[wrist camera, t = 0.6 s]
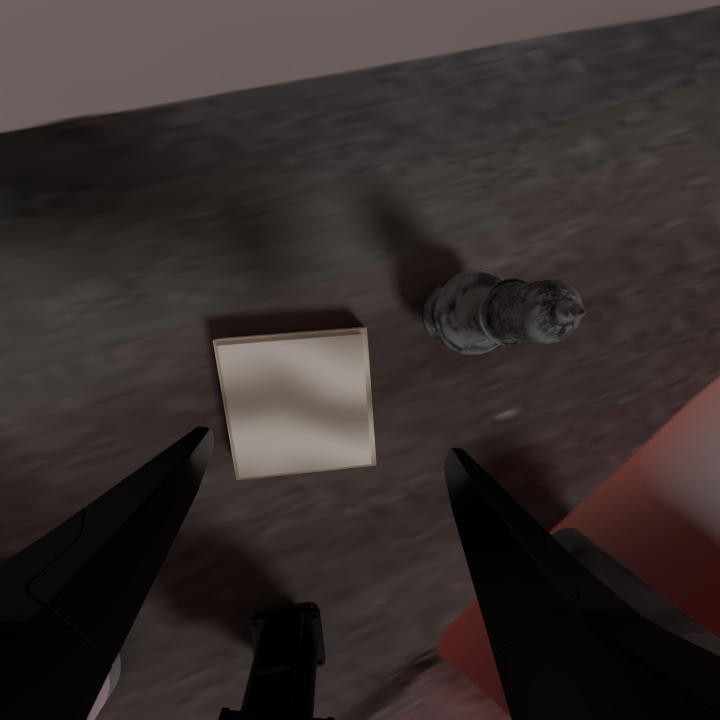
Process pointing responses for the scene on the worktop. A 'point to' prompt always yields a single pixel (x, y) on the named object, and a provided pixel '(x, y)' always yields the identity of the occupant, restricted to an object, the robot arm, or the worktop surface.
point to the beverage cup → (635, 590)
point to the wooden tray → (297, 401)
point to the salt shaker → (500, 311)
